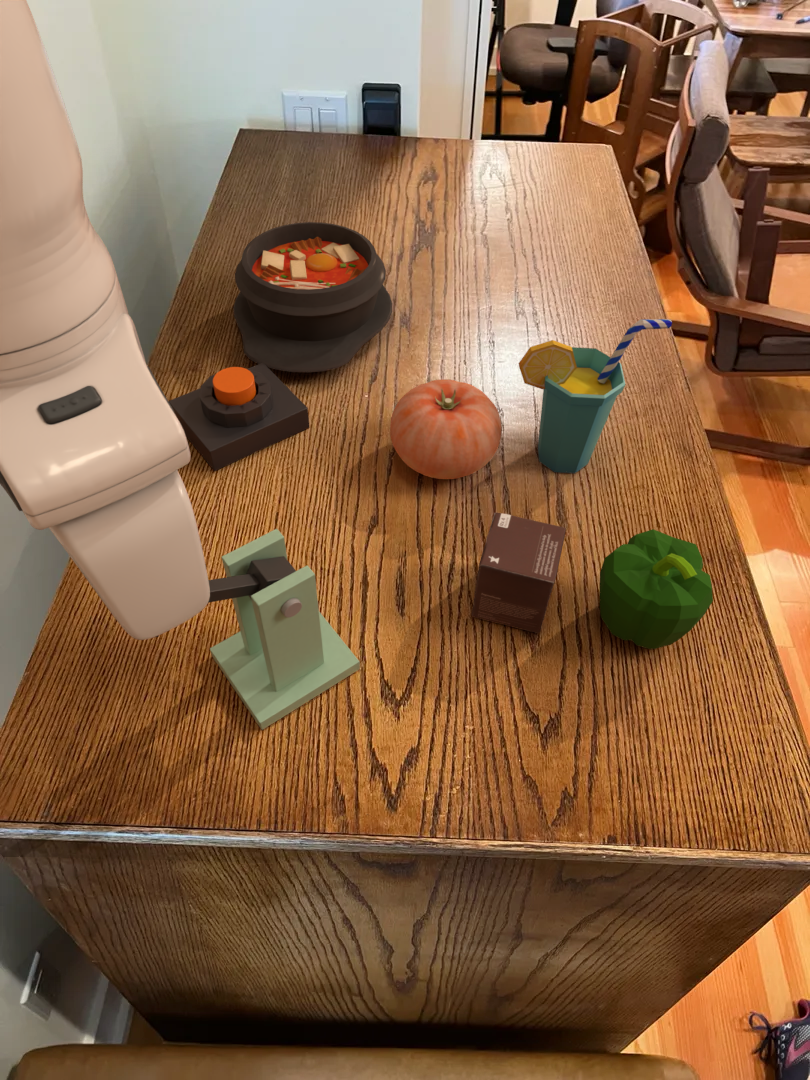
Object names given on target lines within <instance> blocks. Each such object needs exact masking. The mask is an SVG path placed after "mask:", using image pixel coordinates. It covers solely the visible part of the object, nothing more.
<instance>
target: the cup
mask: <svg viewBox="0 0 810 1080" xmlns="http://www.w3.org/2000/svg"><path fill="white" fill-rule="evenodd" d="M672 325H673V321H672V319H670V318H653V319H652V318H651V319H645V318H644V319H641V318H640V319H639V320H637V321H636V322H635V323H633V324H632V325H631V326H630V327H629V328H628V329H627V330H626V332H625V333H624V335H623V336H622V338H621V340H620V342H619V343H618V344H617V346H616V347H615V349H614V351H613V353H612V354H611V356H609V355H608V354H606V353H604V352H602V351H601V350H600V349H597V348H593V347H574V346H571V345H567V344H564V343H562V342H559V341H557V340H554V339H551V340H549V341H548V340H547V341H544V342H541V343H539V344H535V345H532V346H529V348H528V349H527V351H526V352H525V354H524V355H523V356H522V358H521V359H520V361H519V362H518V368H519V370H520V374H521V377H522V380H523V383H524V384H525V385H528V386H532V387H534V388H537V389H540V390H542V391H543V392H542V399H541V400H542V402H541V410H540V411H541V412H540V419H539V420H540V422H539V430H538V433H539V434H538V442H537V454H538V462H539V463H541V464H542V465H543V466H545V467H546V468H547V469H549V470H550V471H552V473H559V474H560V473H562V474H576V473H577V472H579V471H581V470H582V469H583V468H585V467H586V466H587V465H589V463H590V461H591V458H592V456H593V454H594V451H595V449H596V446H597V444H598V442H599V439H600V436H601V434H602V432H603V430H604V427H605V425H606V423H607V420H608V418H609V417H610V413H611V412H612V410H613V407H614V405H615V402H616V400H617V397H618V396H619V395H620V394H622V393H623V391H624V389H625V387H626V381H625V375H624V370H623V366H622V363H621V362H620V360H621V359H622V357H623V356H624V354H625V353H626V351H627V349H628V348H629V346H630V344H631V343H632V342H633V340H634V338H635V337H636V335H637V334H638V333H639V332H641V331H644V330H664V329H665V330H666V329H670V328H671V327H672Z"/></svg>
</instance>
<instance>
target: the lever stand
mask: <svg viewBox="0 0 810 1080" xmlns="http://www.w3.org/2000/svg"><path fill="white" fill-rule="evenodd" d="M285 541H286V540H285V536H284V535H283V534H282V532H281V531H280V530H279V529H278V528H275V529H273V530H271V531H269V532H267V533H265V534H263V535H261V536H259V537H257V538H255V539H253V540H251V541H250V542H248V543H246V544H244V545H241V546H239V547H237V548H236V549H234V550H232V551H230V552H227V553H226V554H224V555H221V561H222V565H223V569H224V573H225V578H226V577H232V576H239V575H245V574H246V573H247V571H248V568H249V566H250V563H251V561H252V560H260V559H267V558H274V557H281V556H284V557H285V558H286V559H287V560H288V553H287V548H286V542H285ZM251 599H252V600H251ZM251 599H250V597H249V596H243V597H238V598H232V599H231V601H232V604H233V609H234V612H235V615H236V620H237V623H238V627H239V631H238V632H236V633H235V634H233V635H231V636H229V637H227V638H225V639H224V640H222V641H220V642H219V643H217V644H215V645H213V646H211V647H209V652H210V655H211V657H212V658H213V660H214V661H215V664H216V665H217V666H218V668H219V669H220V671H221V672H222V673H223V675H224V677H225V678H226V680H227V681H228V682H229V684H230V685H231V687H232V688H233V690H234V692H235V693H236V694H237V696H238V697H239V698H240V700H241V701H242V703H243V705H244V706H245V708H246V709H247V710H248V712H249V714H250V715H251V716H252V718H253V720H254V721H255V722H256V723H257V725H258V727H259V729H260V730H261V731H264V730H265V729H267V728H268V727H269V726H272V725H273V724H274V723H276V722H278V721H279V720H281V719H282V718H284V717H286V716H287V715H289V714H291V713H292V712H294V711H295V710H297V709H298V708H300V707H302V706H303V705H305V704H306V703H308V702H309V701H311V700H313V699H314V698H316V697H318V696H319V695H320V694H322V693H324V692H326V691H327V690H329V689H330V688H332V687H333V686H335V685H336V684H338V683H340V682H341V681H343V680H345V679H346V678H348V677H350V676H352V675H353V674H354V673H356V672H358V671H359V670H361V663H360V660H359V659H358V658H357V657H356V655H355V654H354V653H353V651H352V650H351V649H350V648H349V646H348V645H347V644H346V643H345V641H344V640H343V639H342V638H341V637H340V635H339V634H338V633H337V632H336V630H335V629H334V628H333V627H332V625H331V624H330V622H328V620H327V619H326V618H325V617H324V615H323V614H322V613H321V612H320V609H319V600H318V589H317V581H316V574H315V572H314V571H313V570H312V569H311V567H310V566H309V565H304V566H303V567H301V568H299V569H297V570H296V572H294V573H292V574H290V575H288V576H286V577H285V578H283V579H281V580H279V581H277V582H275V583H273V584H272V585H270V586H268V587H266V588H264V589H262V590H261V591H259V592H257V593H255V594H253V595H251Z"/></svg>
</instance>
